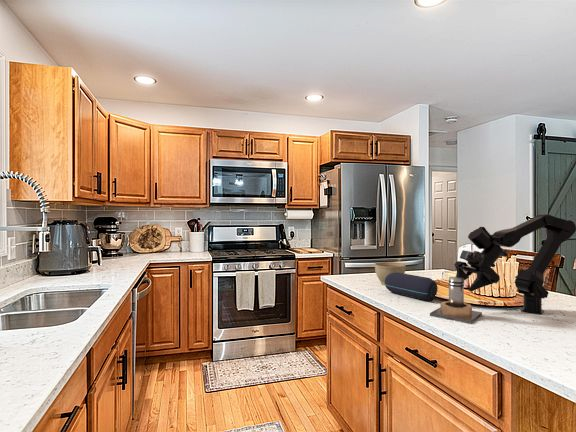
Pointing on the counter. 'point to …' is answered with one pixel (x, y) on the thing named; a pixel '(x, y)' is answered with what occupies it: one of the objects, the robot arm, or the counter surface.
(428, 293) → the portable speaker
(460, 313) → the piston socket base
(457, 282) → the steel piston
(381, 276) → the planter bowl
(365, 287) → the counter surface
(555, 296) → the counter surface
